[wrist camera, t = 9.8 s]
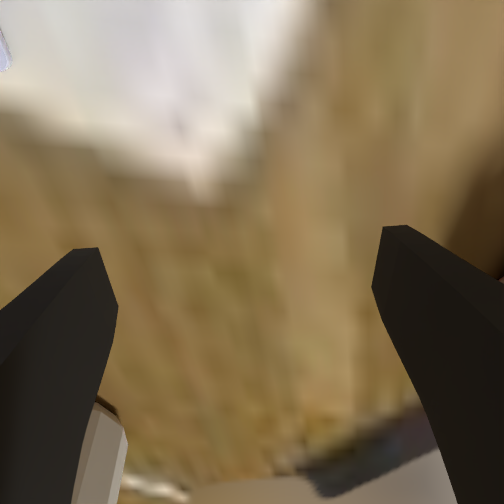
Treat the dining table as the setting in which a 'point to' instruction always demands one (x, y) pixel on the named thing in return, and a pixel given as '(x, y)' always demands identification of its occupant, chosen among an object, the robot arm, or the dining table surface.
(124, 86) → the dining table surface
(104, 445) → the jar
